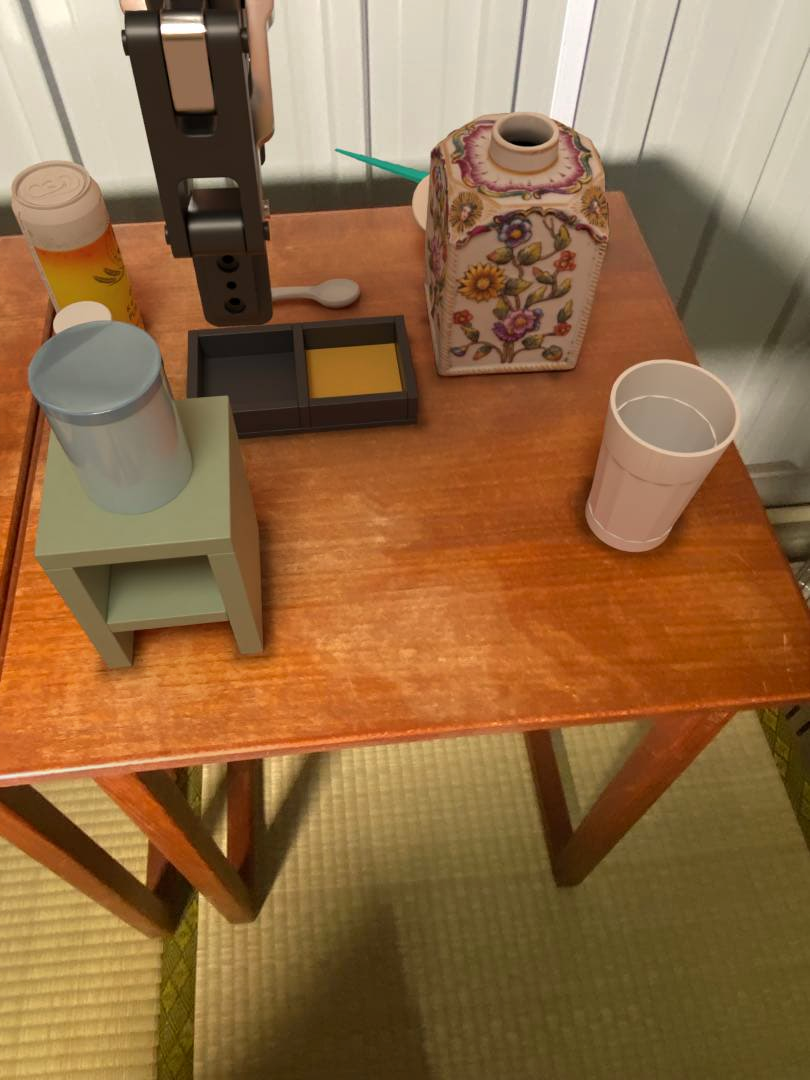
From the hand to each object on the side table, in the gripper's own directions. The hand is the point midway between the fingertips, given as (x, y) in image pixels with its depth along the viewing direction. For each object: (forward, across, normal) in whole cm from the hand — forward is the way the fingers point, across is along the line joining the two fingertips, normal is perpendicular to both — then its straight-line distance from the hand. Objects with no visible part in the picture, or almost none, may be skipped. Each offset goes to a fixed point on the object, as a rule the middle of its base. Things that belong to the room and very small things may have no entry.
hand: (238, 236), depth 30 cm
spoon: (+32, -32, +1) cm, 45 cm away
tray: (+31, -22, +2) cm, 38 cm away
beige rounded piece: (+24, -35, +14) cm, 44 cm away
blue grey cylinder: (+18, -4, -8) cm, 20 cm away
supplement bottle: (+32, -21, -13) cm, 40 cm away
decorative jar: (+31, -27, +18) cm, 45 cm away
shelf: (+32, -4, -7) cm, 33 cm away
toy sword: (+29, -36, +30) cm, 55 cm away
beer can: (+32, -29, -14) cm, 45 cm away
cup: (+31, -7, +25) cm, 40 cm away
